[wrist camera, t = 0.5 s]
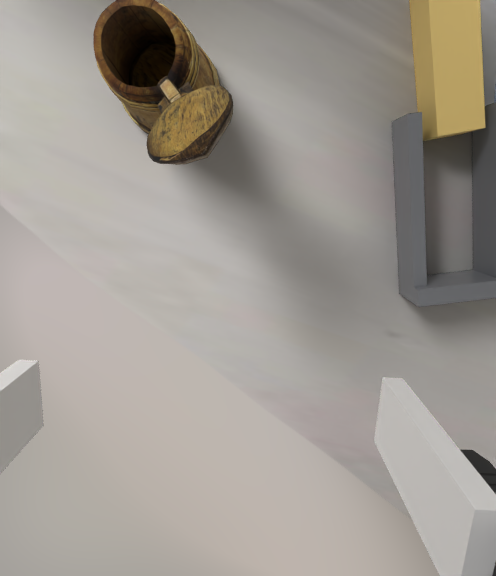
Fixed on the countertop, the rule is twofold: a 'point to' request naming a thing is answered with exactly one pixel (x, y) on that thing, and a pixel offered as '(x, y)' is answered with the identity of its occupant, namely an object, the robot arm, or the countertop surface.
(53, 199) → the countertop surface
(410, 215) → the comb rack
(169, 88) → the wooden mug
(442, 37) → the bar ochre
